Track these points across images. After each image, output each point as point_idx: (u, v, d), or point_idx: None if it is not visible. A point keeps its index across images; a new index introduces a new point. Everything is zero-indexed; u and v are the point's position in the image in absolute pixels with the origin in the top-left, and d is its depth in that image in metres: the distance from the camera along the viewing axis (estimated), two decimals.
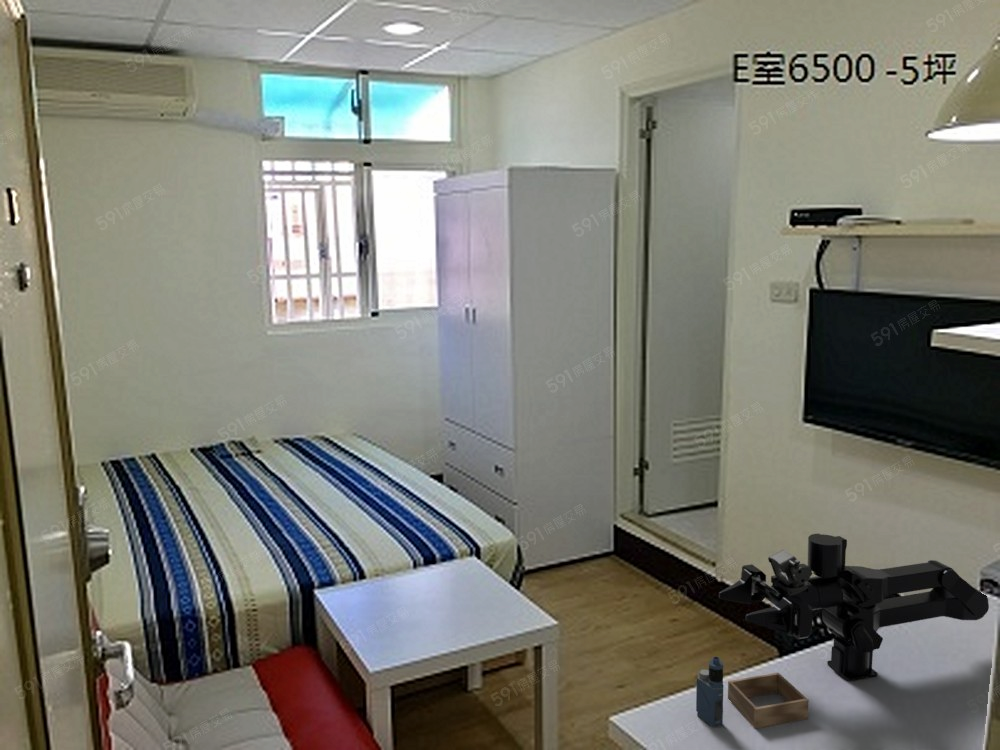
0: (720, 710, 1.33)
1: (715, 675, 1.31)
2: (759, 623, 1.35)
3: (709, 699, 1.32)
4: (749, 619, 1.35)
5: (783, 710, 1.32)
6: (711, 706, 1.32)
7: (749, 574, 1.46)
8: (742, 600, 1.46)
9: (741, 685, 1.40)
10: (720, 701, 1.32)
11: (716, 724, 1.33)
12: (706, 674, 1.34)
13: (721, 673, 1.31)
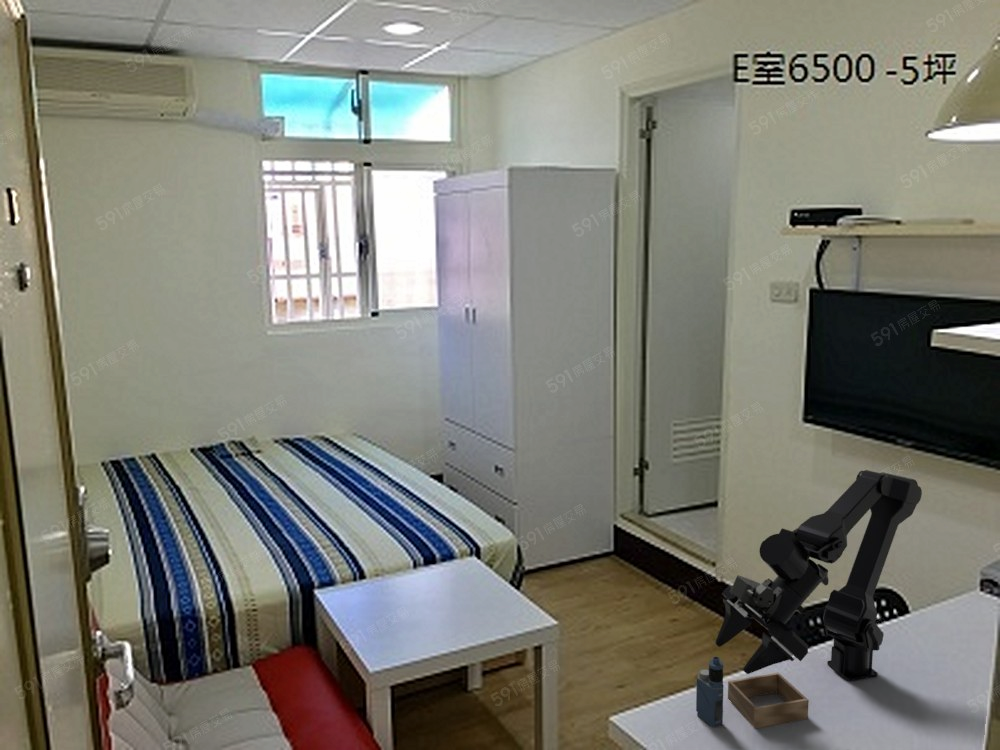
0: (720, 710, 1.33)
1: (715, 675, 1.31)
2: (759, 668, 1.29)
3: (709, 699, 1.32)
4: (748, 671, 1.29)
5: (783, 710, 1.32)
6: (711, 706, 1.32)
7: (729, 605, 1.38)
8: (741, 629, 1.39)
9: (741, 685, 1.40)
10: (720, 701, 1.32)
11: (716, 724, 1.33)
12: (706, 674, 1.34)
13: (721, 673, 1.31)
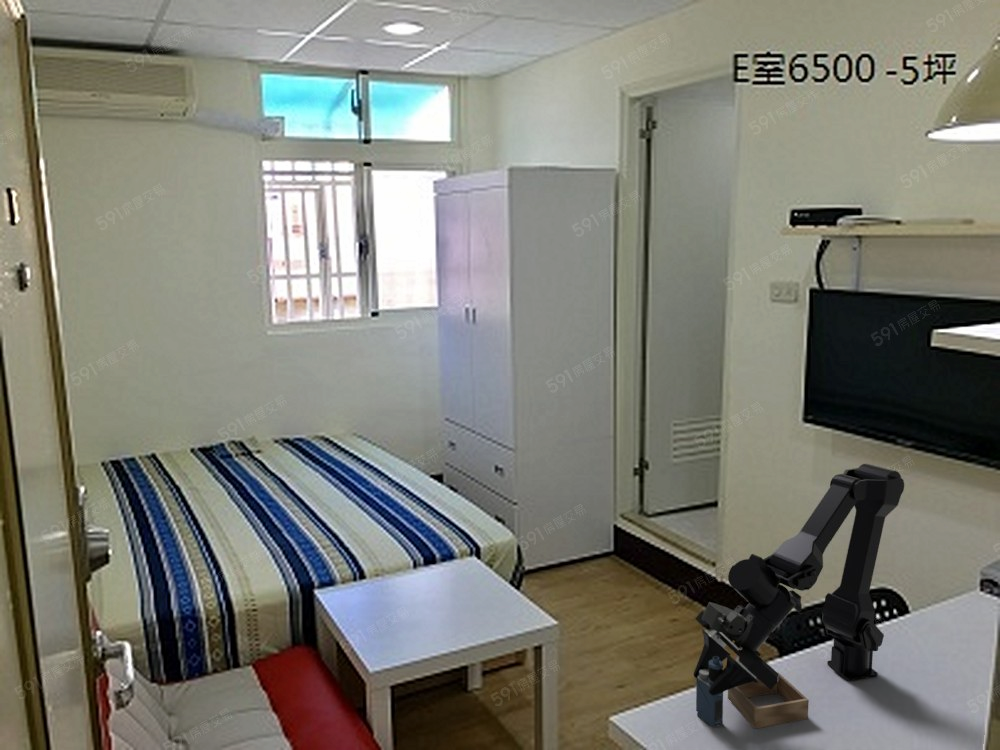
0: (720, 710, 1.33)
1: (715, 675, 1.31)
2: (724, 689, 1.30)
3: (709, 699, 1.32)
4: (713, 693, 1.30)
5: (783, 710, 1.32)
6: (711, 706, 1.32)
7: (707, 636, 1.36)
8: None
9: (741, 685, 1.40)
10: (720, 701, 1.32)
11: (716, 724, 1.33)
12: (706, 674, 1.34)
13: None
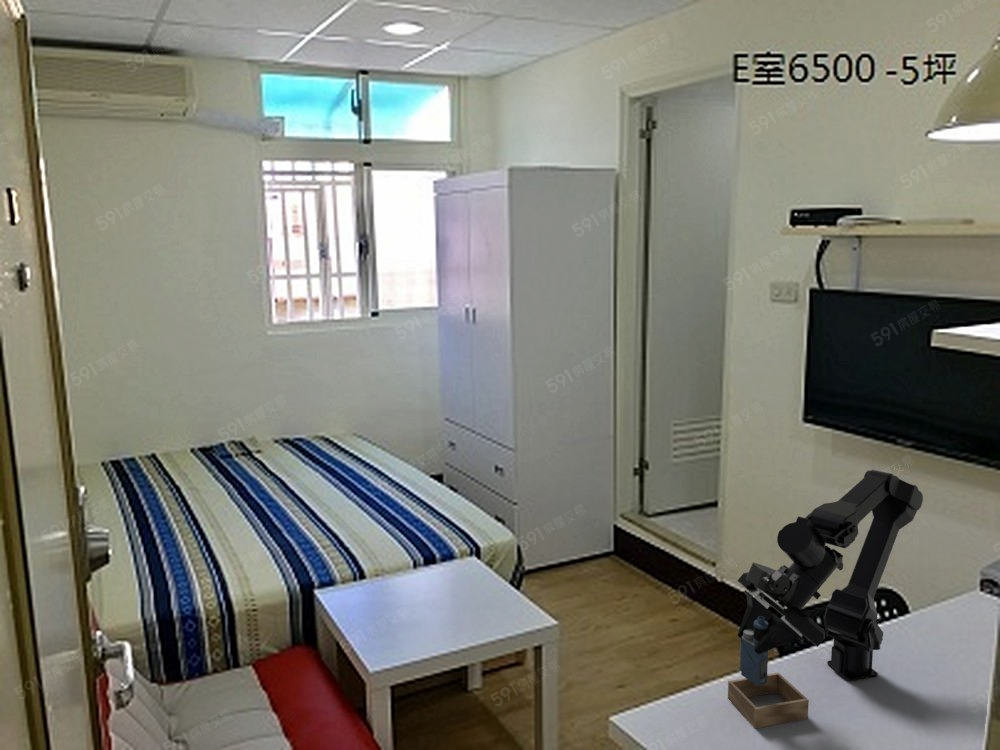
0: (765, 669, 1.34)
1: (760, 634, 1.32)
2: (770, 648, 1.31)
3: (754, 659, 1.33)
4: (759, 652, 1.31)
5: (783, 710, 1.32)
6: (756, 665, 1.33)
7: (751, 597, 1.37)
8: None
9: (741, 685, 1.40)
10: (765, 660, 1.33)
11: (761, 683, 1.34)
12: (750, 634, 1.35)
13: None
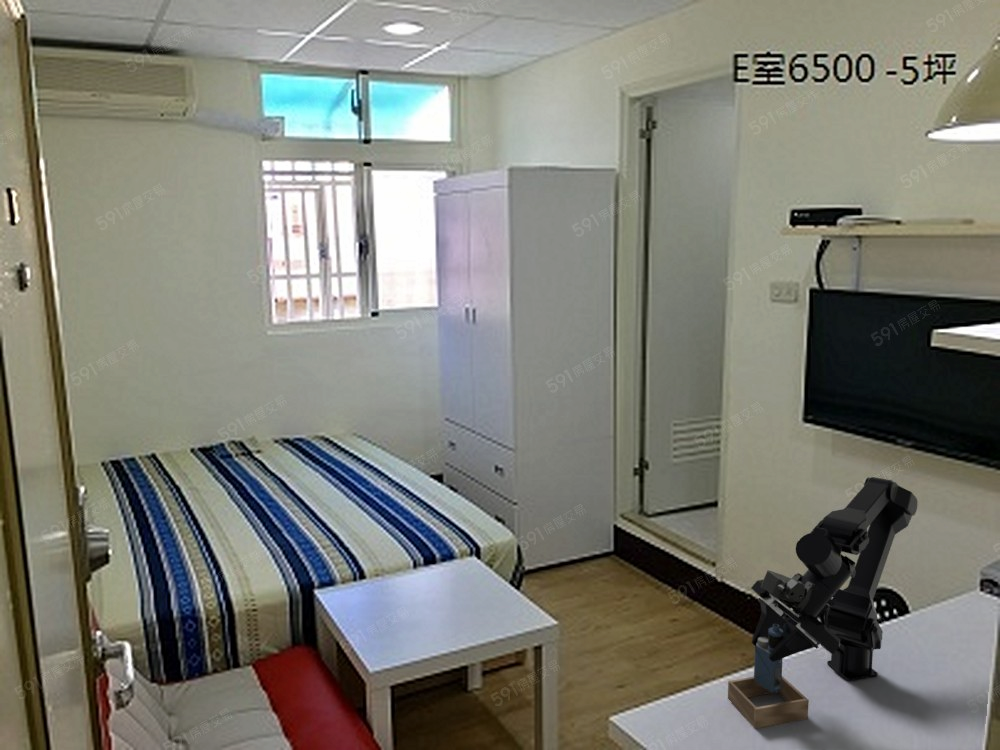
0: (779, 676, 1.35)
1: (775, 642, 1.33)
2: (784, 656, 1.32)
3: (768, 666, 1.34)
4: (774, 659, 1.32)
5: (783, 710, 1.32)
6: (770, 672, 1.34)
7: (765, 604, 1.38)
8: None
9: (741, 685, 1.40)
10: (779, 667, 1.34)
11: (775, 690, 1.35)
12: (765, 641, 1.36)
13: None
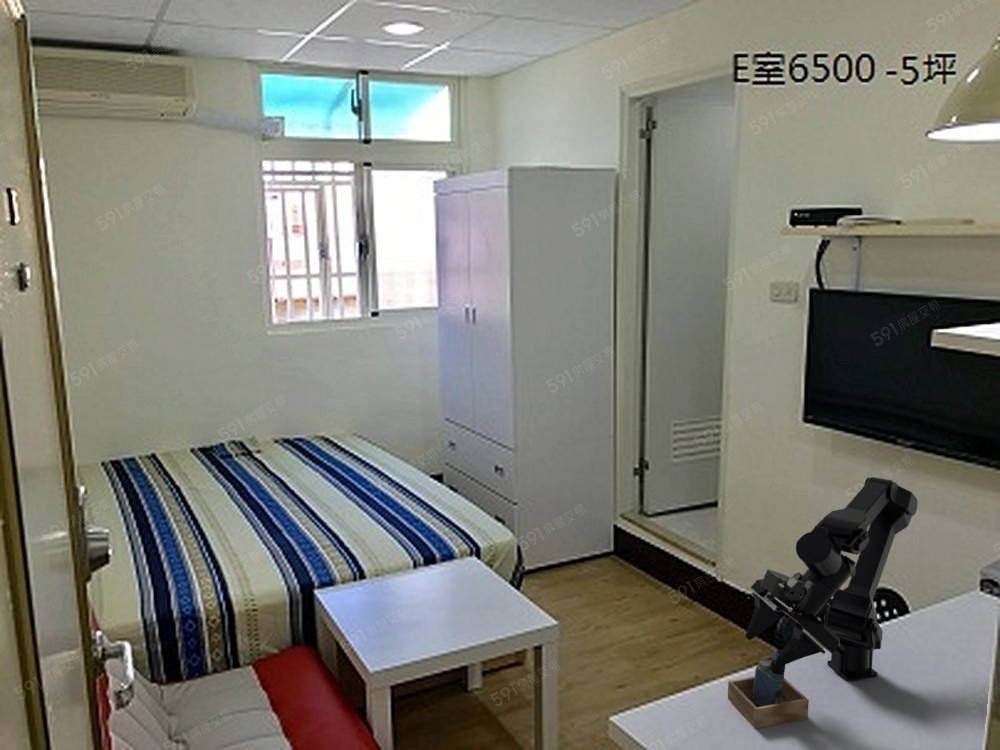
0: (778, 699, 1.35)
1: (778, 668, 1.32)
2: (791, 660, 1.30)
3: (769, 689, 1.35)
4: (780, 664, 1.30)
5: (783, 710, 1.32)
6: (771, 695, 1.34)
7: (759, 599, 1.40)
8: (770, 622, 1.40)
9: (741, 685, 1.40)
10: (779, 691, 1.35)
11: None
12: (767, 665, 1.35)
13: (784, 666, 1.33)
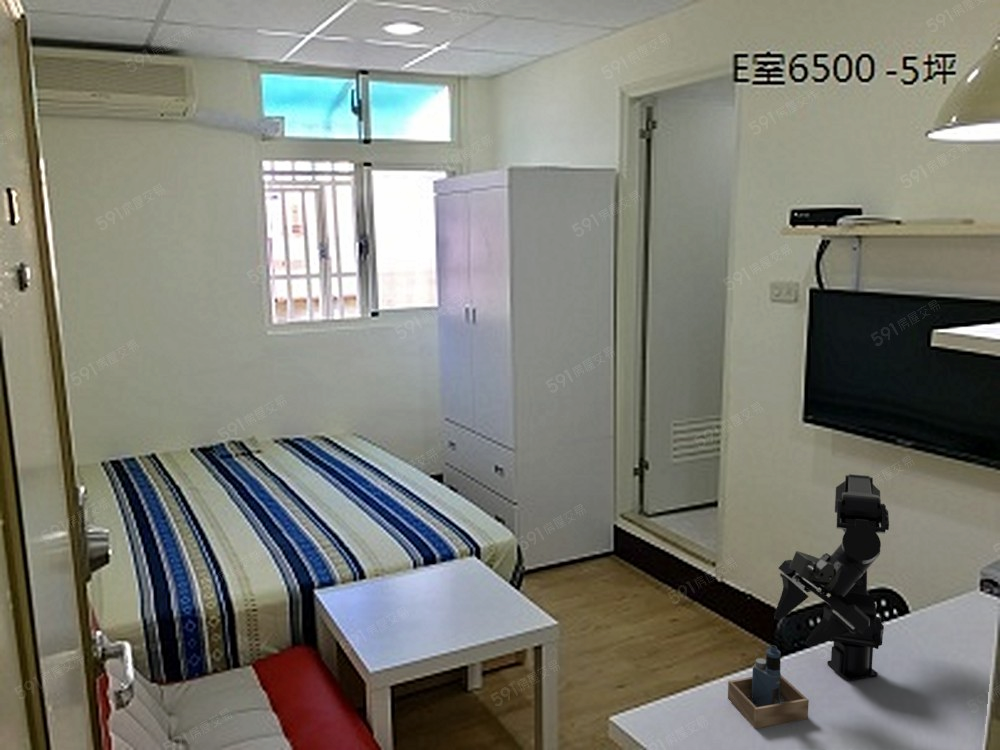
0: (777, 697, 1.36)
1: (773, 663, 1.34)
2: (821, 641, 1.32)
3: (767, 687, 1.35)
4: (810, 644, 1.32)
5: (783, 710, 1.32)
6: (769, 694, 1.35)
7: (787, 580, 1.41)
8: (798, 602, 1.42)
9: (741, 685, 1.40)
10: (777, 689, 1.35)
11: None
12: (763, 663, 1.37)
13: (779, 661, 1.34)
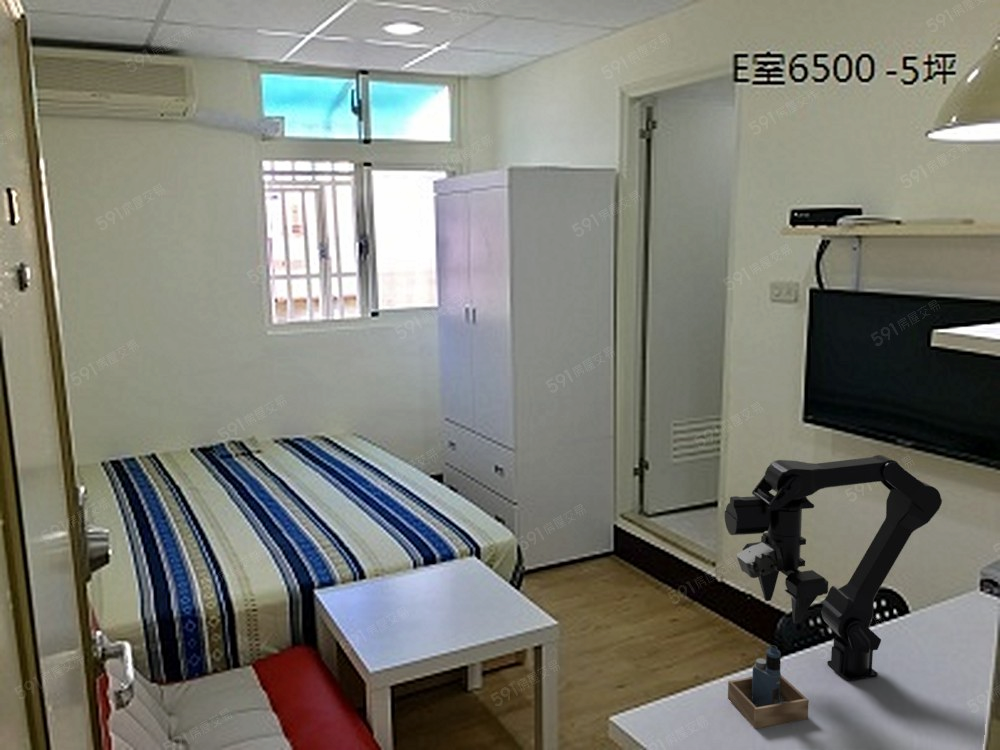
0: (777, 697, 1.36)
1: (773, 663, 1.34)
2: (804, 613, 1.40)
3: (767, 687, 1.35)
4: (798, 621, 1.40)
5: (783, 710, 1.32)
6: (769, 694, 1.35)
7: None
8: (776, 574, 1.49)
9: (741, 685, 1.40)
10: (777, 689, 1.35)
11: None
12: (763, 663, 1.37)
13: (779, 661, 1.34)
